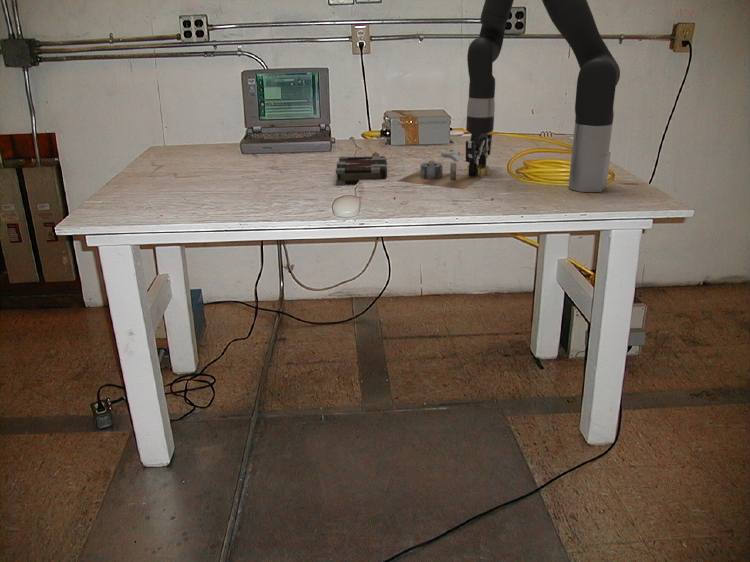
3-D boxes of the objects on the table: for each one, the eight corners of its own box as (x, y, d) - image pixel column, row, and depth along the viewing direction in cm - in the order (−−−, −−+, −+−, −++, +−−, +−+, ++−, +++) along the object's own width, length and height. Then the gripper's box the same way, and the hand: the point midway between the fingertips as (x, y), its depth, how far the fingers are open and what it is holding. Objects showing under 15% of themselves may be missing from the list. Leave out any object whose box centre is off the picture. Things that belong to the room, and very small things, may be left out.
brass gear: (491, 177, 180) (492, 165, 178) (483, 182, 175) (484, 169, 174) (471, 175, 183) (472, 163, 181) (463, 179, 178) (463, 167, 176)
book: (335, 186, 176) (334, 168, 174) (340, 166, 199) (340, 150, 197) (387, 185, 175) (386, 167, 173) (386, 165, 198) (386, 149, 196)
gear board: (483, 182, 175) (484, 161, 172) (463, 194, 164) (464, 172, 161) (419, 175, 184) (419, 154, 182) (397, 186, 173) (396, 164, 171)
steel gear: (442, 174, 178) (443, 162, 177) (441, 179, 173) (442, 167, 171) (421, 174, 179) (421, 162, 178) (419, 179, 174) (419, 167, 172)
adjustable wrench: (473, 171, 189) (474, 165, 189) (452, 172, 189) (453, 166, 188) (457, 153, 212) (458, 148, 211) (439, 154, 212) (439, 149, 211)
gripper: (483, 118, 164) (480, 180, 171) (502, 111, 176) (498, 170, 182) (457, 116, 168) (455, 177, 174) (477, 110, 179) (474, 167, 186)
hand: (477, 173), depth 178 cm, fingers closed on brass gear, 6 cm apart
